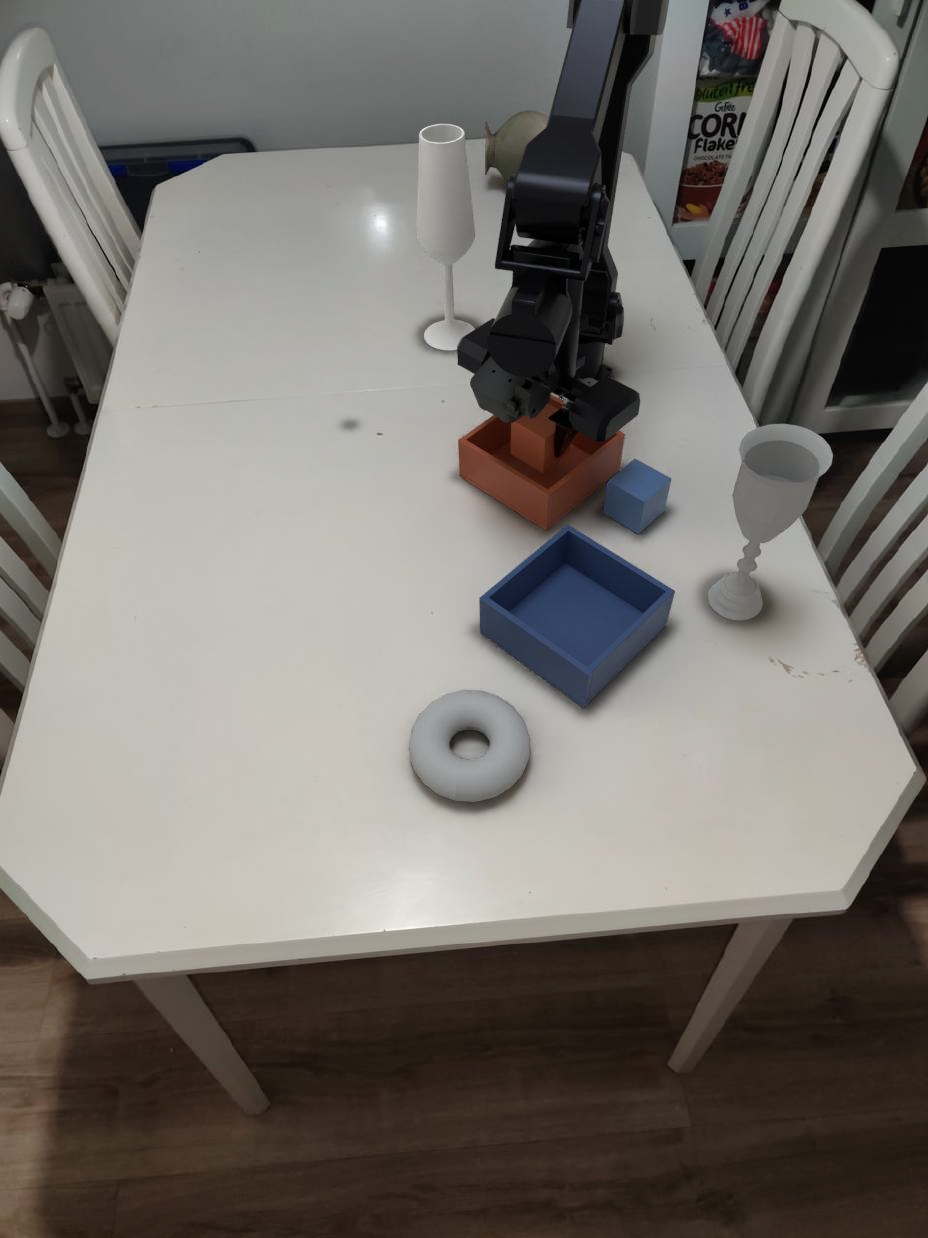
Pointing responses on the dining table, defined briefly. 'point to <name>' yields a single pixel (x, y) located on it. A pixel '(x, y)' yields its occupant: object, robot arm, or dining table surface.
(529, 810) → the dining table surface
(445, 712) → the donut
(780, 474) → the chalice
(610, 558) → the blue bin
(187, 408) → the dining table surface
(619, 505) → the blue block
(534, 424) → the terracotta block
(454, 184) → the champagne flute
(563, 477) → the terracotta bin
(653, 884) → the dining table surface
